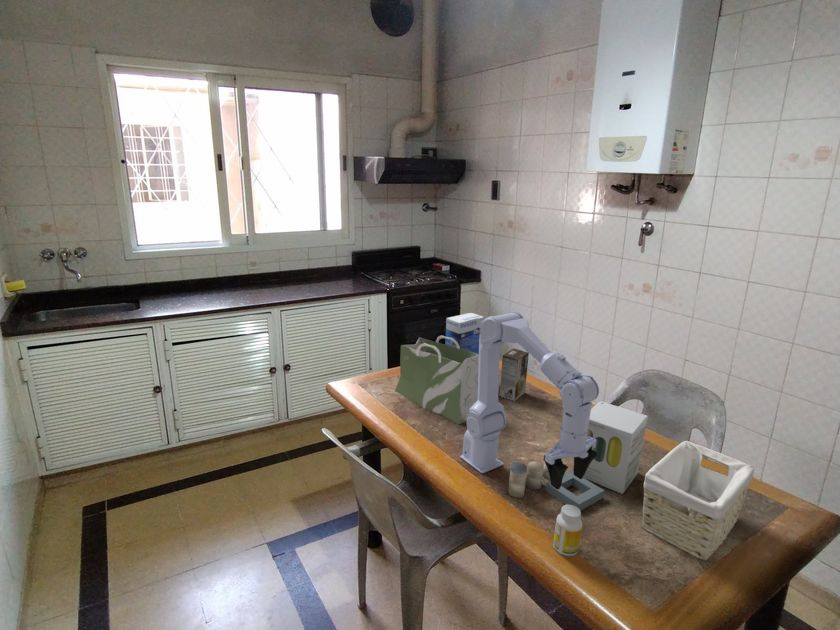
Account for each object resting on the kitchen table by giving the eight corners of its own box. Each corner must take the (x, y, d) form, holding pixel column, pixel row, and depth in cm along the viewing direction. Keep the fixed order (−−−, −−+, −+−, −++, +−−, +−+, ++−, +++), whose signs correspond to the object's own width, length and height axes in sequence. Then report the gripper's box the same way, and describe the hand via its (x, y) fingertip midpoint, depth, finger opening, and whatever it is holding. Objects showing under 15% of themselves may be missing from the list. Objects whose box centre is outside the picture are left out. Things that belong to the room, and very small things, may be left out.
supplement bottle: (548, 547, 107) (553, 510, 104) (560, 535, 111) (565, 498, 108) (571, 561, 104) (577, 522, 101) (582, 547, 107) (588, 510, 105)
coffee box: (509, 388, 186) (513, 348, 181) (525, 393, 182) (529, 352, 178) (498, 396, 179) (502, 354, 174) (514, 401, 175) (518, 359, 171)
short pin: (539, 475, 133) (541, 462, 132) (549, 470, 135) (551, 457, 134) (551, 482, 130) (552, 469, 129) (561, 477, 132) (562, 464, 131)
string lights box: (467, 374, 198) (471, 312, 190) (480, 380, 192) (485, 316, 185) (442, 381, 189) (445, 317, 182) (456, 388, 184) (460, 322, 177)
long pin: (504, 491, 126) (507, 465, 123) (515, 485, 128) (518, 460, 126) (516, 499, 122) (519, 473, 120) (527, 494, 125) (530, 468, 123)
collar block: (545, 490, 126) (546, 483, 126) (570, 477, 132) (571, 470, 131) (577, 512, 119) (578, 504, 118) (603, 497, 124) (604, 490, 124)
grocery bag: (391, 392, 179) (393, 331, 173) (419, 382, 189) (421, 324, 182) (457, 425, 157) (461, 357, 151) (485, 412, 167) (490, 347, 160)
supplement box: (572, 474, 134) (580, 416, 129) (591, 454, 144) (599, 399, 139) (622, 495, 126) (633, 433, 121) (638, 472, 135) (649, 415, 131)
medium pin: (522, 482, 129) (524, 464, 128) (533, 477, 132) (535, 459, 130) (534, 490, 126) (536, 472, 125) (544, 485, 128) (547, 467, 127)
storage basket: (707, 569, 103) (721, 509, 99) (631, 527, 114) (641, 472, 110) (744, 520, 118) (758, 466, 114) (674, 487, 130) (684, 437, 126)
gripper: (565, 445, 103) (558, 501, 106) (610, 428, 110) (601, 481, 114) (540, 430, 108) (534, 484, 112) (584, 415, 116) (577, 466, 120)
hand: (566, 481), depth 113 cm, fingers open, 7 cm apart
